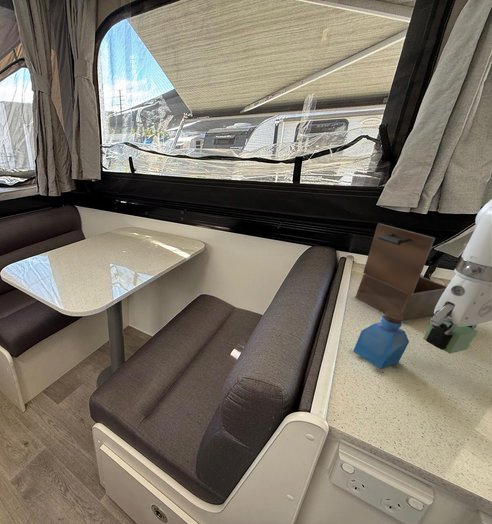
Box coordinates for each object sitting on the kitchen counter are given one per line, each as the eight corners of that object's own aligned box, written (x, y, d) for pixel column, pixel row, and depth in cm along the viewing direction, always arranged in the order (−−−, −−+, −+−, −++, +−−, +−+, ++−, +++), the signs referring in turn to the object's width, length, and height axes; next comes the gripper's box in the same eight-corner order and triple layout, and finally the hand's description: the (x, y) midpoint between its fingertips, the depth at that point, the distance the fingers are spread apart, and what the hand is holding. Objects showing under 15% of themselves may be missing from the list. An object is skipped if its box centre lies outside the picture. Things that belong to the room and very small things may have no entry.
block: (438, 335, 63) (448, 317, 61) (466, 349, 58) (478, 331, 56) (422, 338, 62) (431, 320, 60) (449, 353, 57) (460, 335, 55)
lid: (379, 223, 79) (365, 226, 78) (435, 237, 66) (418, 241, 66) (365, 272, 86) (351, 275, 85) (413, 293, 73) (397, 297, 73)
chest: (391, 291, 92) (401, 268, 89) (439, 314, 80) (453, 288, 77) (354, 297, 89) (363, 274, 86) (399, 321, 77) (411, 295, 74)
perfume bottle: (353, 350, 67) (369, 310, 62) (370, 345, 68) (388, 305, 64) (380, 368, 61) (400, 326, 56) (398, 362, 63) (419, 320, 58)
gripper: (479, 285, 48) (435, 362, 55) (544, 273, 51) (495, 347, 58) (429, 267, 54) (396, 338, 62) (489, 258, 58) (451, 326, 65)
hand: (444, 342), depth 60 cm, fingers closed on block, 5 cm apart
